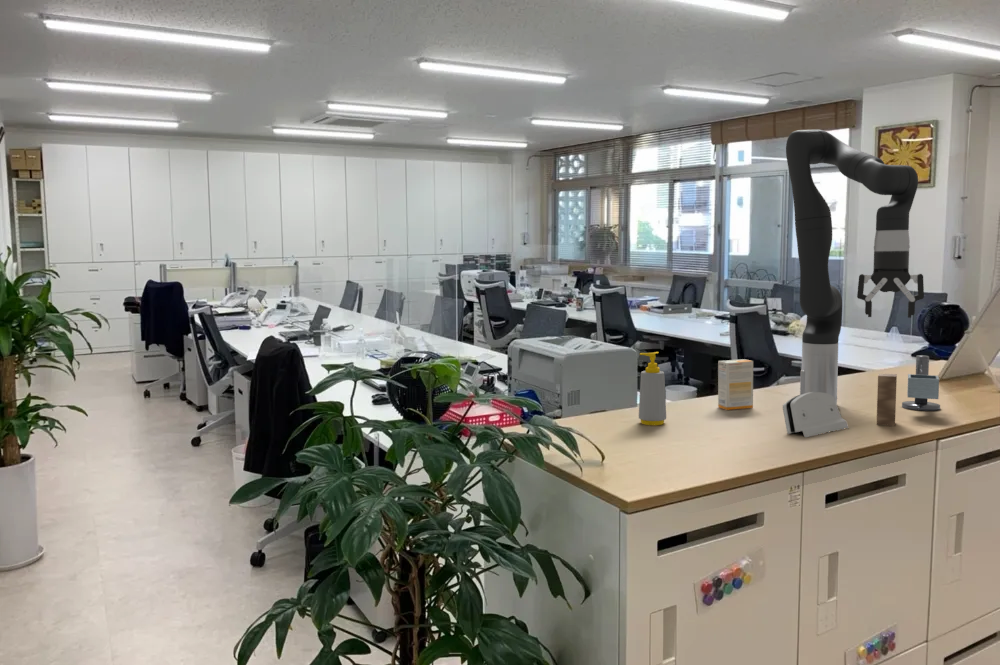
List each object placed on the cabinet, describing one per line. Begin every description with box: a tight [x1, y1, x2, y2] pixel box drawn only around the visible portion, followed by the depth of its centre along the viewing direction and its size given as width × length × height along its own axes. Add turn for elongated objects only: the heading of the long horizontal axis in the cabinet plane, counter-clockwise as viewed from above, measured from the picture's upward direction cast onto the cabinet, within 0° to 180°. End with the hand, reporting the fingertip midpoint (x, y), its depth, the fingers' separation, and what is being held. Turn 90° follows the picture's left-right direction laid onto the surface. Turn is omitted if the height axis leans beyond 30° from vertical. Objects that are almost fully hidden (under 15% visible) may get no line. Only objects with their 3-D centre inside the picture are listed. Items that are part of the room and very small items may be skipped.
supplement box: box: [717, 358, 754, 411], centre depth 208 cm, size 8×5×13 cm, turn 105°
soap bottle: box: [638, 351, 667, 426], centre depth 190 cm, size 7×7×18 cm
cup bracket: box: [901, 354, 941, 412], centre depth 200 cm, size 9×19×14 cm, turn 152°
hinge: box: [782, 392, 849, 438], centre depth 181 cm, size 17×5×10 cm, turn 122°
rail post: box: [876, 373, 898, 427], centre depth 186 cm, size 4×4×12 cm
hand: (889, 317), depth 184 cm, fingers open, 8 cm apart
